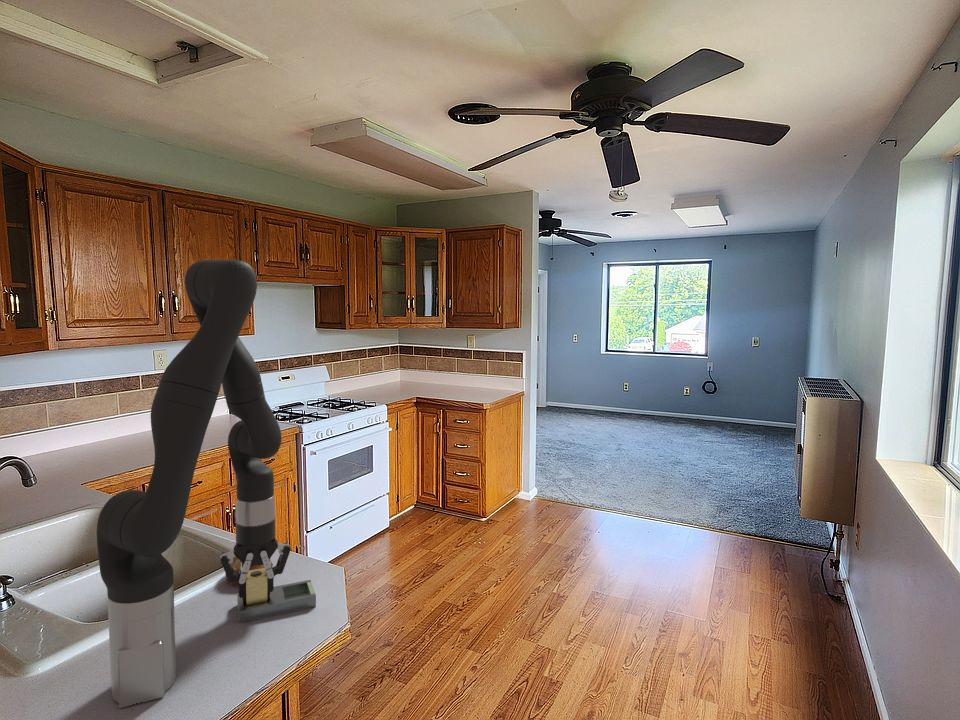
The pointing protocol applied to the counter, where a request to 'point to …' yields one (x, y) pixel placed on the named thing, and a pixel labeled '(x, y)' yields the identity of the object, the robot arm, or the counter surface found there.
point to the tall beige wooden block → (256, 587)
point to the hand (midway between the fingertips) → (256, 595)
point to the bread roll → (237, 565)
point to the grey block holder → (280, 601)
